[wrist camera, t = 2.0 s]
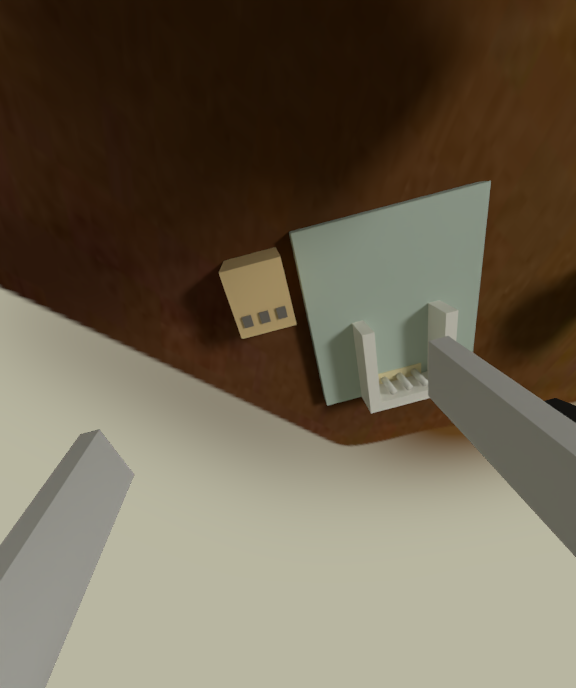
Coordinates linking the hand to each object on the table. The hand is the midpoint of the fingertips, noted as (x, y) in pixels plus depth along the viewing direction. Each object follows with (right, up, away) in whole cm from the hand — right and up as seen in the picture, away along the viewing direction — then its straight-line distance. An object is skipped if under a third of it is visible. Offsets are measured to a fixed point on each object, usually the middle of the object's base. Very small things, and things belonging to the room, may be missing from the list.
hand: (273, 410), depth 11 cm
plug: (-2, +9, +16) cm, 19 cm away
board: (+12, +7, +19) cm, 23 cm away
